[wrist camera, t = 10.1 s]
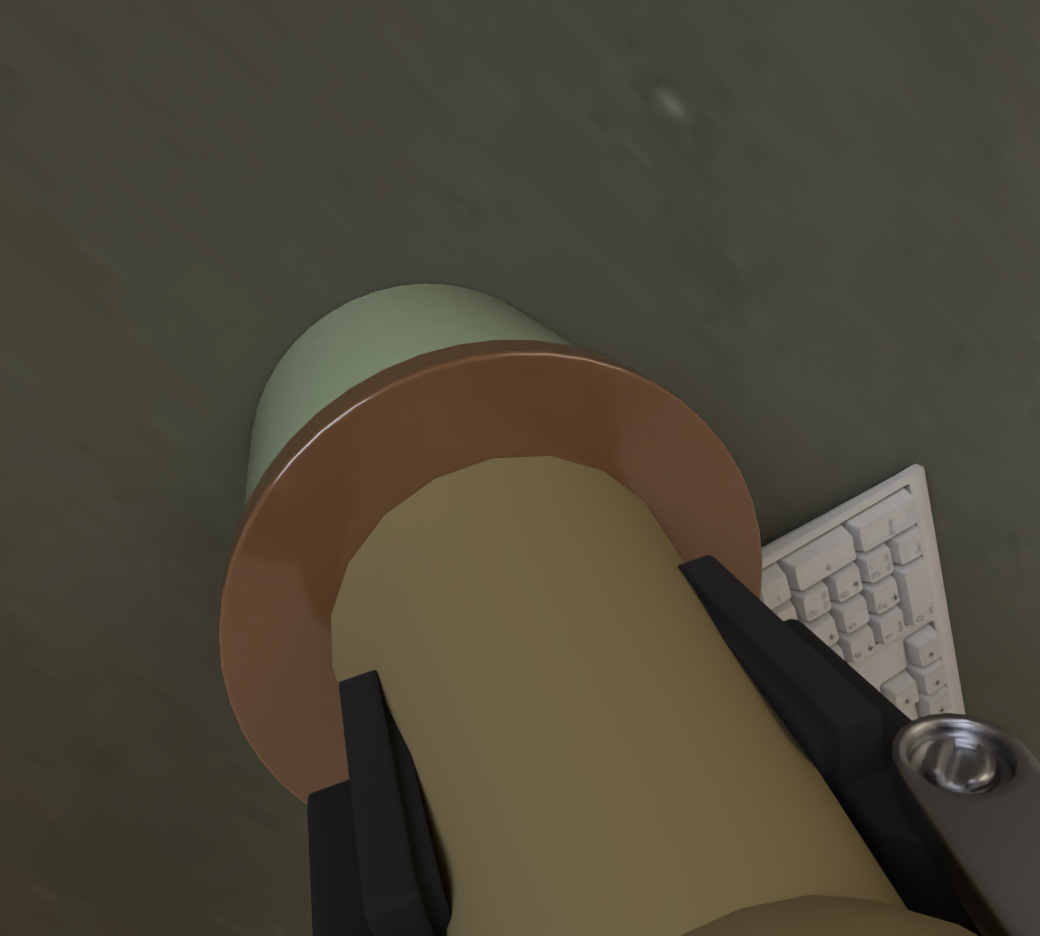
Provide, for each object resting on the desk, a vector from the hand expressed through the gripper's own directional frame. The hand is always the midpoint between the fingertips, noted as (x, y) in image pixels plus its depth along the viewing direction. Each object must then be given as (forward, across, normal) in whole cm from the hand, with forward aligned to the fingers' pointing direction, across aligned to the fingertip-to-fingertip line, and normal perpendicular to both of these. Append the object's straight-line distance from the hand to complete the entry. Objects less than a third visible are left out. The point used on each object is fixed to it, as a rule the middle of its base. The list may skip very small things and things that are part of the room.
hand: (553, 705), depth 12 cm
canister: (+11, 0, 0) cm, 11 cm away
